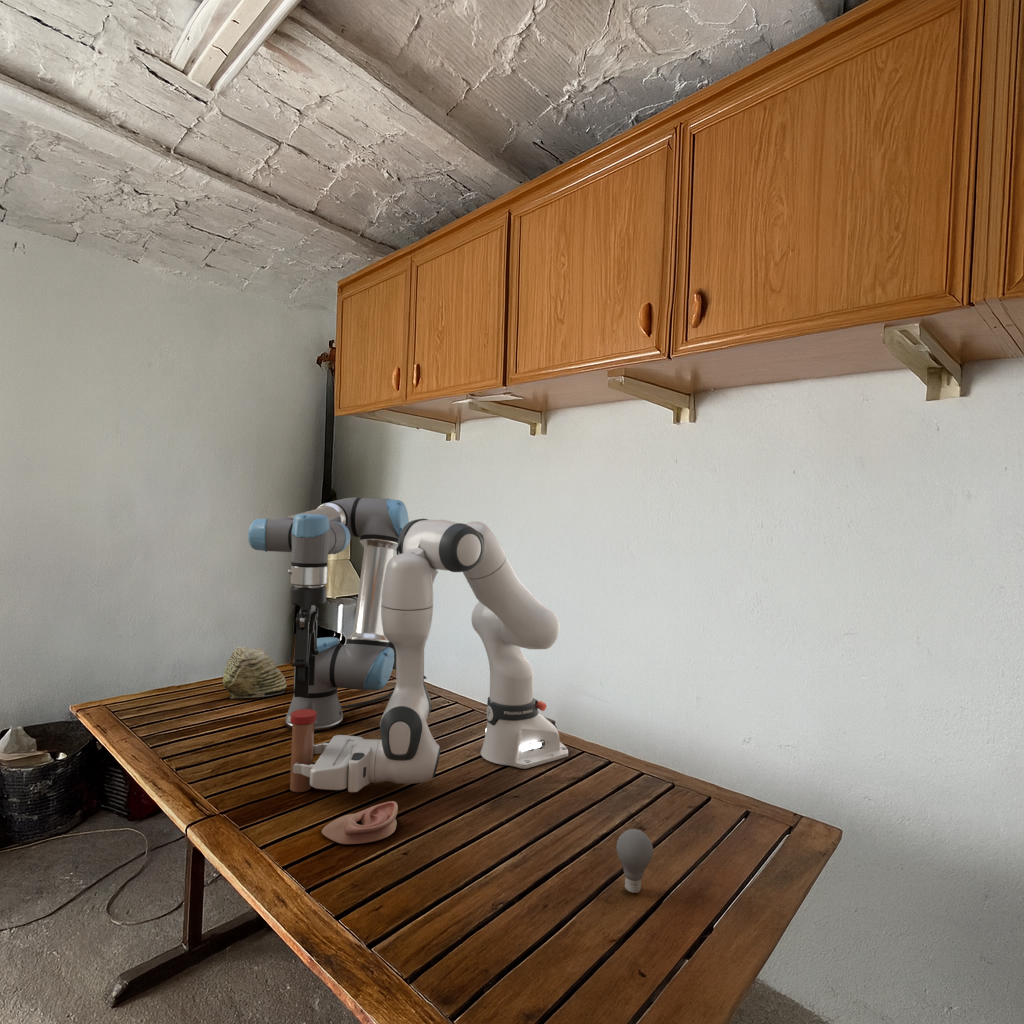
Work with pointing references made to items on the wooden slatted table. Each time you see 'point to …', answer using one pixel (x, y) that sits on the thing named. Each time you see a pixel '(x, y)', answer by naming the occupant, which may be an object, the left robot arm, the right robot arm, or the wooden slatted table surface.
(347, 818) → the anatomical model
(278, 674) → the fossil
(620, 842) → the light bulb
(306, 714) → the lid
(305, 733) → the jar
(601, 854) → the wooden slatted table surface
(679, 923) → the wooden slatted table surface
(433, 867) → the wooden slatted table surface
